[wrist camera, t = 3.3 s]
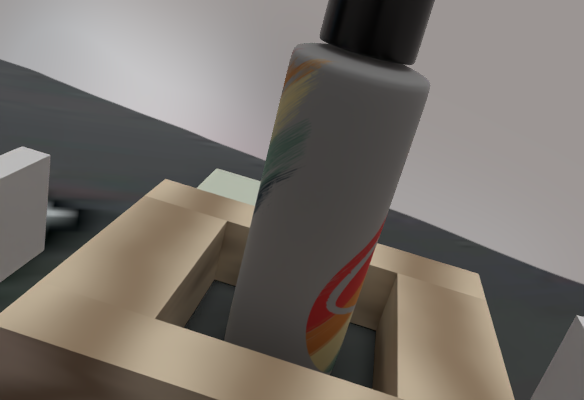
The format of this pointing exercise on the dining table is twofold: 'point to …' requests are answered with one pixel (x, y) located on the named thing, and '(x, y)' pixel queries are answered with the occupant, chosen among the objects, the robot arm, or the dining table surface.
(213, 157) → the dining table surface
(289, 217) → the lotion bottle
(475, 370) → the holder block
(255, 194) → the sage pad
